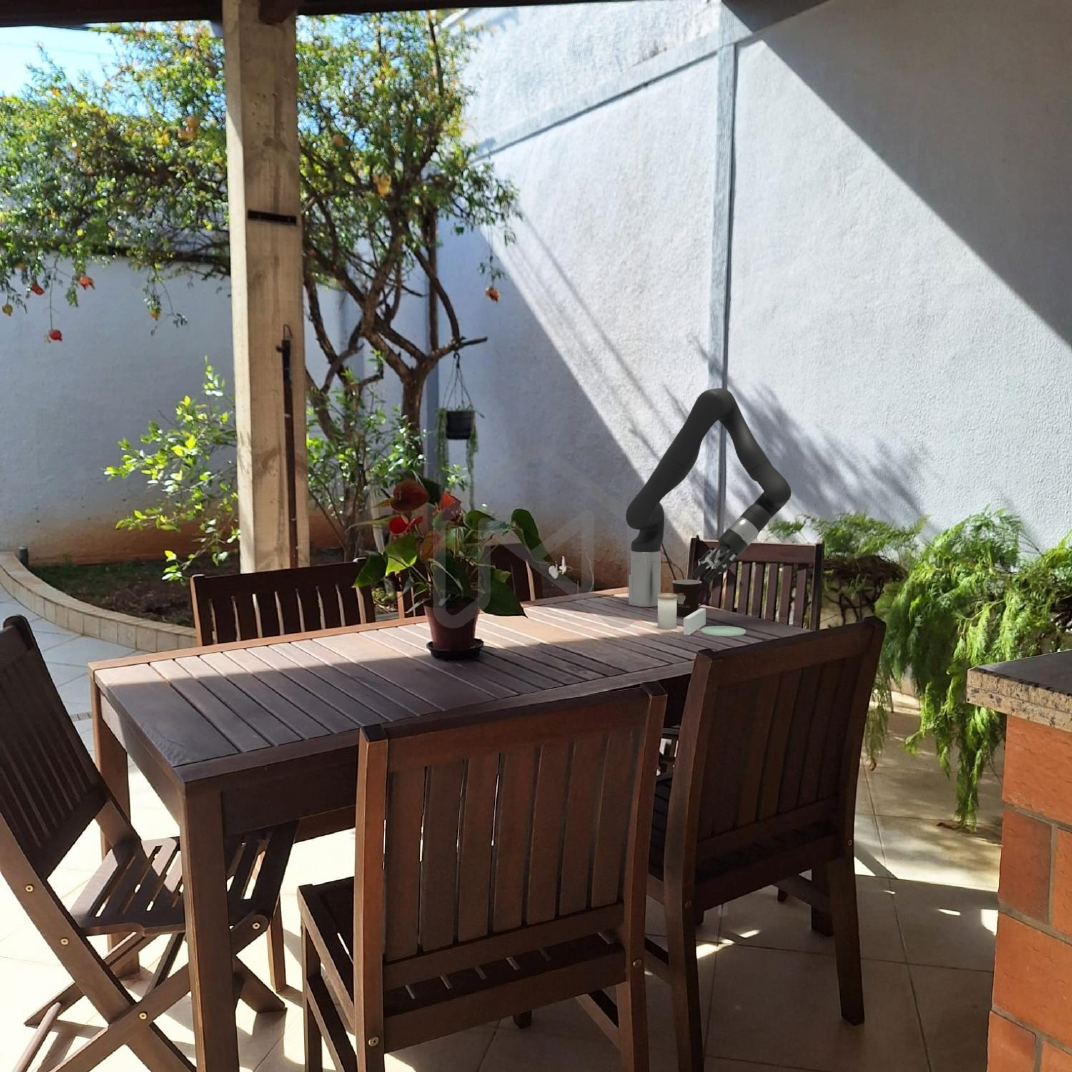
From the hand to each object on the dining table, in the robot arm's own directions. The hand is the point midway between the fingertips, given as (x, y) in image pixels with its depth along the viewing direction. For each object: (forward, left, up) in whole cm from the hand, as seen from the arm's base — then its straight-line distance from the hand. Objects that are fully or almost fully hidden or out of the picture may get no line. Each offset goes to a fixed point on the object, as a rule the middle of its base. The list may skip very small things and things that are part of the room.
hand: (700, 578), depth 271 cm
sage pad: (+8, -6, -13) cm, 17 cm away
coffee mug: (-7, +12, -13) cm, 19 cm away
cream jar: (-8, -6, -13) cm, 16 cm away
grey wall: (0, -6, -13) cm, 15 cm away
